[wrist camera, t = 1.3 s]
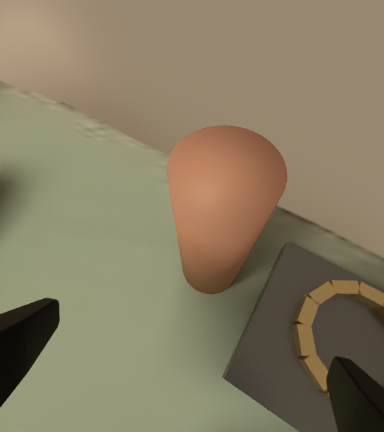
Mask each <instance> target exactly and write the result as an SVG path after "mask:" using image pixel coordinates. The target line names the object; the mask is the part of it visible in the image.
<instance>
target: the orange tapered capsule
mask: <svg viewBox="0 0 384 432" xmlns="http://www.w3.org/2000/svg"><path fill="white" fill-rule="evenodd" d="M167 177H168V184H169V190H170V196H171V202H172V208H173V214H174V220H175V226H176V232H177V238H178V244H179V249H180V255H181V261H182V267H183V273H184V276H185V278H186V280H187V282H188V283H189V284H190V285H191V286H192V287H193V288H194V289H196V290H198V291H200V292H203V293H208V294H214V293H219V292H222V291H224V290H225V289H227V288H228V287H229V286H230V285H231V284H232V283H233V281H234V280H235V278H236V276H237V274H238V273H239V271H240V269H241V267H242V265H243V264H244V262H245V260H246V258H247V257H248V255H249V253H250V251H251V249H252V248H253V246H254V244H255V242H256V241H257V239H258V237H259V235H260V233H261V232H262V230H263V228H264V226H265V225H266V223H267V221H268V219H269V217H270V216H271V214H272V212H273V210H274V209H275V207H276V205H277V203H278V201H279V200H280V198H281V196H282V194H283V192H284V190H285V187H286V183H287V169H286V165H285V162H284V160H283V157H282V156H281V154H280V152H279V151H278V150H277V149H276V147H275V146H274V145H273V144H272V143H271V142H270V141H268V140H267V139H266V138H264V137H263V136H261V135H259V134H257V133H255V132H253V131H250V130H248V129H245V128H241V127H235V126H213V127H207V128H203V129H200V130H198V131H195V132H193V133H191V134H190V135H188V136H186V137H185V138H184V139H182V140H181V141H180V142H179V143H178V144H177V145H176V147H175V148H174V149H173V151H172V153H171V155H170V157H169V160H168V164H167Z"/></svg>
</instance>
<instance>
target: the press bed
mask: <svg viewBox="0 0 384 432" xmlns="http://www.w3.org/2000/svg"><path fill="white" fill-rule="evenodd" d="M335 356H339V357H344V358H348V359H350V360H352V361H353V362H354V363H355V364H356V365H358V366H359V367H360V368H361V369H362V370H363V371H365V372H366V373H367V374H368V375H369V376H370V377H372V378H373V379H374V380H375V381H376V382H377V383H379V384H380V385H381V386H382V387H383V388H384V290H382V289H380V288H378V287H376V286H374V285H372V284H370V283H368V282H366V281H364V280H362V279H360V278H358V277H356V276H354V275H352V274H350V273H348V272H346V271H344V270H342V269H340V268H338V267H336V266H334V265H332V264H330V263H328V262H326V261H324V260H322V259H320V258H318V257H316V256H314V255H313V254H311V253H309V252H307V251H305V250H303V249H301V248H299V247H297V246H295V245H293V244H291V243H289V242H287V243H286V244H285V245H284V247H283V248H282V250H281V252H280V254H279V256H278V258H277V260H276V263H275V265H274V267H273V269H272V271H271V273H270V275H269V278H268V280H267V282H266V284H265V286H264V288H263V290H262V293H261V295H260V297H259V299H258V301H257V303H256V305H255V308H254V310H253V312H252V314H251V316H250V318H249V320H248V322H247V325H246V327H245V329H244V331H243V333H242V335H241V337H240V340H239V342H238V344H237V346H236V348H235V350H234V352H233V355H232V357H231V359H230V361H229V363H228V365H227V367H226V369H225V372H224V374H223V376H222V377H223V378H224V379H225V380H227V381H228V382H230V383H231V384H232V385H234V386H235V387H237V388H238V389H240V390H241V391H242V392H244V393H245V394H247V395H248V396H250V397H251V398H252V399H254V400H255V401H257V402H258V403H260V404H261V405H262V406H264V407H265V408H267V409H268V410H270V411H271V412H272V413H274V414H275V415H277V416H278V417H280V418H281V419H282V420H284V421H285V422H287V423H288V424H290V425H291V426H292V427H294V428H295V429H297V430H298V431H300V432H338V431H337V426H336V422H335V418H334V414H333V410H332V406H331V401H330V397H329V393H328V389H327V384H326V377H327V374H328V371H329V368H330V365H331V362H332V359H333V358H334V357H335Z"/></svg>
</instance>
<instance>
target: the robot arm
mask: <svg viewBox="0 0 384 432" xmlns="http://www.w3.org/2000/svg"><path fill="white" fill-rule="evenodd" d="M59 320H60V316H59V302H58V300H56V299H51V298H44V299H41V300H38V301H35V302H33V303H30V304H27V305H24V306H21V307H19V308H16V309H13V310H10V311H8V312H5V313H2V314H0V407H1V406H2V405H3V403H4V402H5V401H6V400H7V398H8V397H9V396H10V395H11V393H12V392H13V391H14V389H15V388H16V387H17V386H18V384H19V383H20V382H21V380H22V379H23V378H24V377H25V375H26V374H27V373H28V371H29V370H30V368H31V367H32V365H33V364H34V362H35V361H36V359H37V358H38V356H39V355H40V353H41V352H42V350H43V349H44V347H45V346H46V344H47V343H48V341H49V340H50V338H51V336H52V335H53V333H54V332H55V330H56V329H57V327H58V325H59ZM326 384H327V389H328V393H329V397H330V401H331V406H332V410H333V414H334V418H335V422H336V426H337V431H338V432H384V388H383V387H382V386H381V385H380V384H379V383H377V382H376V381H375V380H374V379H373V378H372V377H370V376H369V375H368V374H367V373H366V372H365V371H363V370H362V369H361V368H360V367H359V366H358V365H356V364H355V363H354V362H353V361H352V360H350V359H348V358H344V357H339V356H335V357H334V358H333V359H332V362H331V365H330V368H329V371H328V374H327V377H326Z"/></svg>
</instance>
